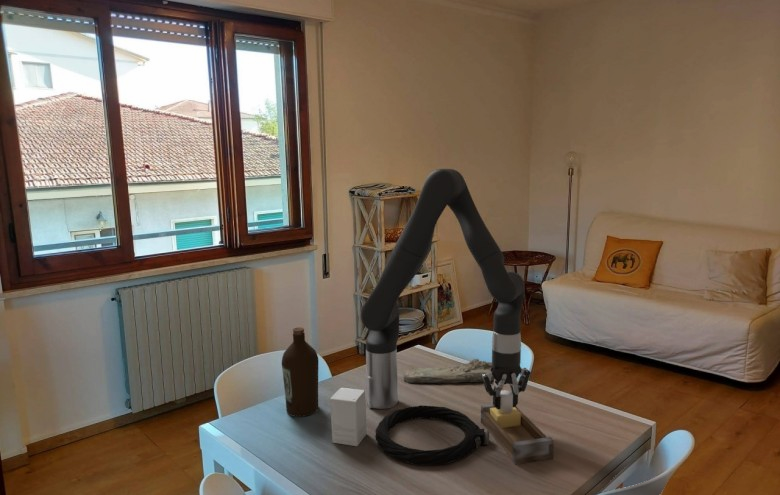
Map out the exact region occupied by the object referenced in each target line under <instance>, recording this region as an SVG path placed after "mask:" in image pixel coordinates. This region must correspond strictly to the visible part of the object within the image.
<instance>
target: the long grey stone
mask: <svg viewBox="0 0 780 495" xmlns="http://www.w3.org/2000/svg"><path fill="white" fill-rule="evenodd" d="M491 368H492V361H486V360H484V361H482V360H480V359H478V358H474V359H471V360H470V361H469V362H467V363H461V364H459V365H457V366H436V367H419V368H414V367H412V368H409V369H406V370H405V371H404V372H403V381H404V382H406V383H408V384H412V383H414V384H415V383H417V384H418V383H419V384H421V383H422V384H425V383H426V384H459V383H479V382H481V383H483V380H482V377H481V374H482V373H485V374H486V373H488V372H490V370H491ZM494 379H495V378H494V377H493V376H492V377H491V381H490V382H494Z"/></svg>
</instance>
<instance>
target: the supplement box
mask: <svg viewBox="0 0 780 495" xmlns="http://www.w3.org/2000/svg"><path fill="white" fill-rule="evenodd" d="M329 403H330V417H331V438H332V443H334V444H338V445H339V444H341V445H346V446H354V447H358V446H359V445H360V443H361V442H362V440H363V439H364V438H365V436H366V435H367V432H368V431H367V428H368V427H367V426H368V425H367V411H366V410H367V409H366V408H367V406H366V404H367V401H366V389H356V388H350V387H349V388H347V387H340V388H339V389H338V390H337V391H336V392H335V393H334V394H333V395H332V396H331V397H330V398H329Z"/></svg>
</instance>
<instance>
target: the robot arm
mask: <svg viewBox="0 0 780 495" xmlns="http://www.w3.org/2000/svg"><path fill="white" fill-rule="evenodd" d="M447 206H448V207H449V209H450V210H451V211H452V213H453V214H454V215H455V218H456V220H457V221H458V223H459V226H460V229H461V231H462V235H463V238H464V241H465V244H466V246H467V248H468V250H469V252H470V253H471V255H472V257H473V259H474V260H475V262H476V264H477V265H478V267H479V268H480V270H481V273H482V274H481V275H482V277H483V280H484V282H485V285H486V287H487V289H488V292H489V293H490V295H491V297H493V299H495V301H497V303H498V305H497V308H496V309H495V311H494V312H493V328H492V329H493V330H492V338H491V339H492V340H491V363H492V368H491V370H490V372H488V373H486V374H485V373H482V374H481V377H482V380H483V382H482V383H483V386H484V389H485V391H486V393H487V394H489V396H491V397H492V404H493V405H494V406H495V408H496V409H497V410H498V409H500V393H501V391H502V390H503V389H504V386H505V385H507V384H509V387H510V391H511V392H512V393H513V407H517V405H518V403H519V393H521V392H525V391H526V388H527V385H528V382H529V379H530V376H531V374H532V373H531V371H530V370H529V369H528V368H527V367H523V368H522V367H521V361H522V360H521V355H522V336H521V314H522V310H523V305H524V304H523V303H524V299H525V292H526V291H525V289H526V288H525V287H526V286H525V282H524V279H523V277H522V276H521V275H520V274H519V273H517V272H514V271H507V268H506V267H505V265H504V263H505V260H506V259H505V256H504V253H503V251H502V250H501V248H500V247H499V245H498V243H497V241H496V240H495V238H494V237H493V235H492V234H491V232H490V231H489V228H488V227H487V226H486V224H485V222H484V220H483V218H482V216H481V214H480V213H479V210H478V208H477V206H476V204H475V202H474V200H473V198H472V195H471V193H470V190H469V187H468V185H467V183H466V180H465V177H464V176H463V175H462V173H461V172H459V171H458V170H456V169H454V168H439V169H438V168H437V169H435V170H432V172H430V173H429V174H428V176H427V177H426V178H425V180H424V183H423V186H422V188H421V191H420V194H419V196H418V199H417V201H416V204H415V207H414V208H413V211H412V213H411V215H410V217H409V218H408V221H407V222H406V224H405V226H404V227H403V230H402V232H401V233H400V235H399V237H398V239H397V241H396V243H395V245H394V247H393V249H392V250H391V253H390V255H389V257H388V259H387V262H386V264H385V266H384V267H383V270H382V272H381V276H380V278H379V280H378V282H377V284H376V285H375V287H374V289H373V290H372V291H371V293H370V295H369V296H368V298H367V299H366V301H365V302H364V304H363V305H362V307H361V310H360V319H361V320H360V321H361V322H362V324H363V326H364V327H365V328H366V329H367V330H369V332H368V335H367V337H366V340H365V365H366V368H365V369H366V370H365V371H364V380H365V383H364V384H365V401H366V404H367V406H368V408H369V409H377V410H378V409H379V410H385V409H391V408H393V407H396V405H397V404H398V401H399V400H398V396H399V394H398V352H397V351H398V350H397V349H398V348H397V346H398V345H397V344H398V341H399V333H400V308H399V305H398V300H399V298H400V296H401V294H402V293H403V292H404V290H405V289H406V288H407V286H408V285H409V284H410V283H411V282H412V280H413V279H414V277H415V276H416V275H417V274H418V272H419V270H420V269H421V267H422V266H423V265H424V262H425V260H426V259H427V257H428V254H429V252H430V250H431V246H432V244H433V243H432V242H433V238H434V233H435V228H436V225H437V223H438V221H439V219H440V217H441V215H442V214H443V212H444V210H445V209H446V208H447ZM492 376H493V377H494V378H495V379H494V381H493V386H492V383H491V382H492V381H491V377H492ZM518 377H519V379H518ZM517 379H518V381H517Z"/></svg>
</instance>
